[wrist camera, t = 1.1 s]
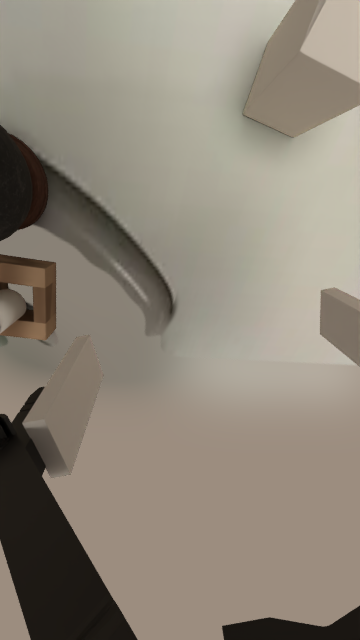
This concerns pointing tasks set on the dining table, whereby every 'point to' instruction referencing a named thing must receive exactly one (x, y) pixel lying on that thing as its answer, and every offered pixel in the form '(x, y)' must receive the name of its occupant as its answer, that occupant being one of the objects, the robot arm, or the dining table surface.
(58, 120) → the dining table surface
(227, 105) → the dining table surface
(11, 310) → the grey plug
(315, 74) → the milk carton
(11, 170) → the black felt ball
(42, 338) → the board
